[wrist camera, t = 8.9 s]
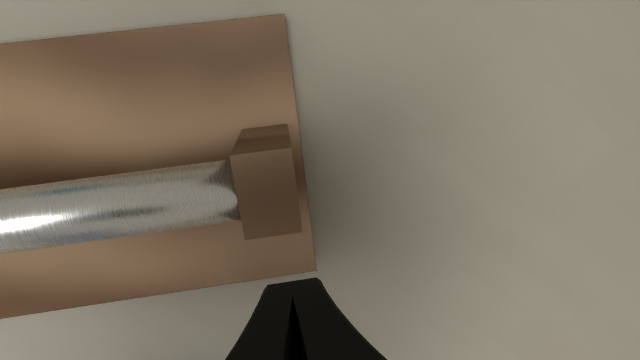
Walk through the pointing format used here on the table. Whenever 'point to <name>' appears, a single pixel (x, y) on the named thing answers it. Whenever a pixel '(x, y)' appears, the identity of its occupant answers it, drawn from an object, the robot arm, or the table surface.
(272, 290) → the robot arm
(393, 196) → the table surface
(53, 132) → the pipe stand
